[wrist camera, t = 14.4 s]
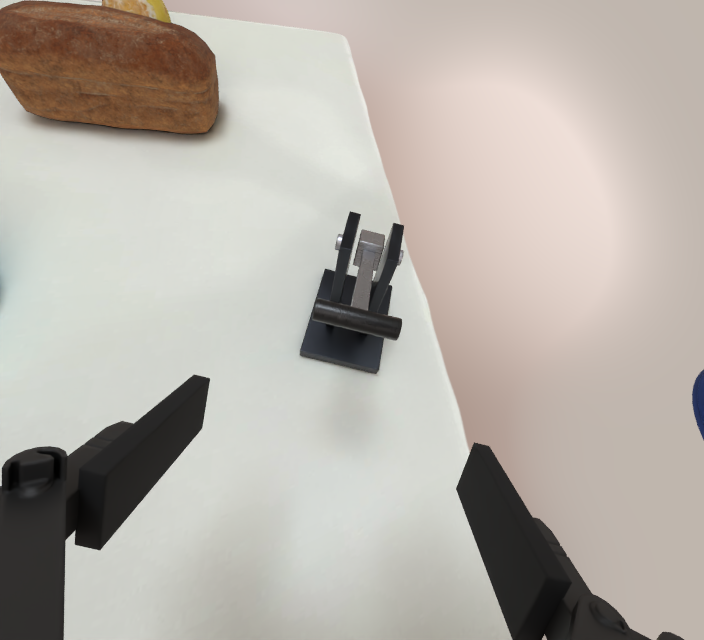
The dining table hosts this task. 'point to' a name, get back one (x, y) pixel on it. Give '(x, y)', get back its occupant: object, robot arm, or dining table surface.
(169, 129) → the bread
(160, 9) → the fruit
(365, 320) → the lever
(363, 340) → the bracket
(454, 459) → the dining table surface
